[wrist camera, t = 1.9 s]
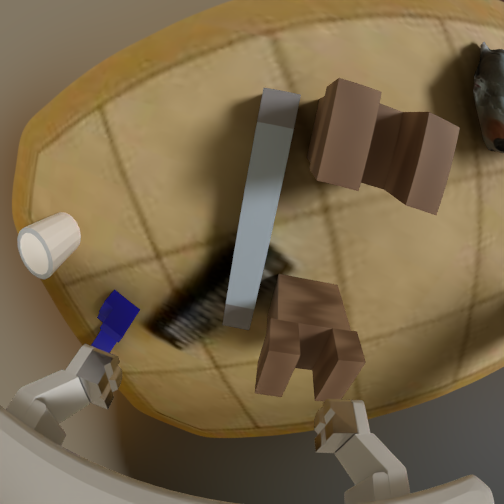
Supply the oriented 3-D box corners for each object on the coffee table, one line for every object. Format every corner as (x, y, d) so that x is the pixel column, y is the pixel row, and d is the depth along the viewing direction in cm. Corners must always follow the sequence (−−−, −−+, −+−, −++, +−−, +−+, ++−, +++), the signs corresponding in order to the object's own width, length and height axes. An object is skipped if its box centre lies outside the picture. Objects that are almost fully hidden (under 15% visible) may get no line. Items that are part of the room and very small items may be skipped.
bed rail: (297, 99, 23) (300, 94, 20) (252, 308, 34) (249, 330, 30) (265, 93, 23) (263, 87, 20) (228, 303, 34) (222, 324, 30)
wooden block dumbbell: (391, 122, 23) (459, 127, 12) (326, 324, 34) (338, 402, 23) (312, 97, 23) (338, 77, 12) (262, 314, 34) (254, 393, 23)
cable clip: (115, 288, 35) (93, 314, 30) (140, 309, 36) (122, 337, 31) (91, 330, 40) (74, 354, 34) (112, 346, 41) (97, 371, 35)
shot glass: (75, 203, 30) (39, 223, 24) (90, 252, 33) (60, 279, 26) (44, 212, 31) (10, 231, 25) (58, 256, 34) (29, 280, 27)
